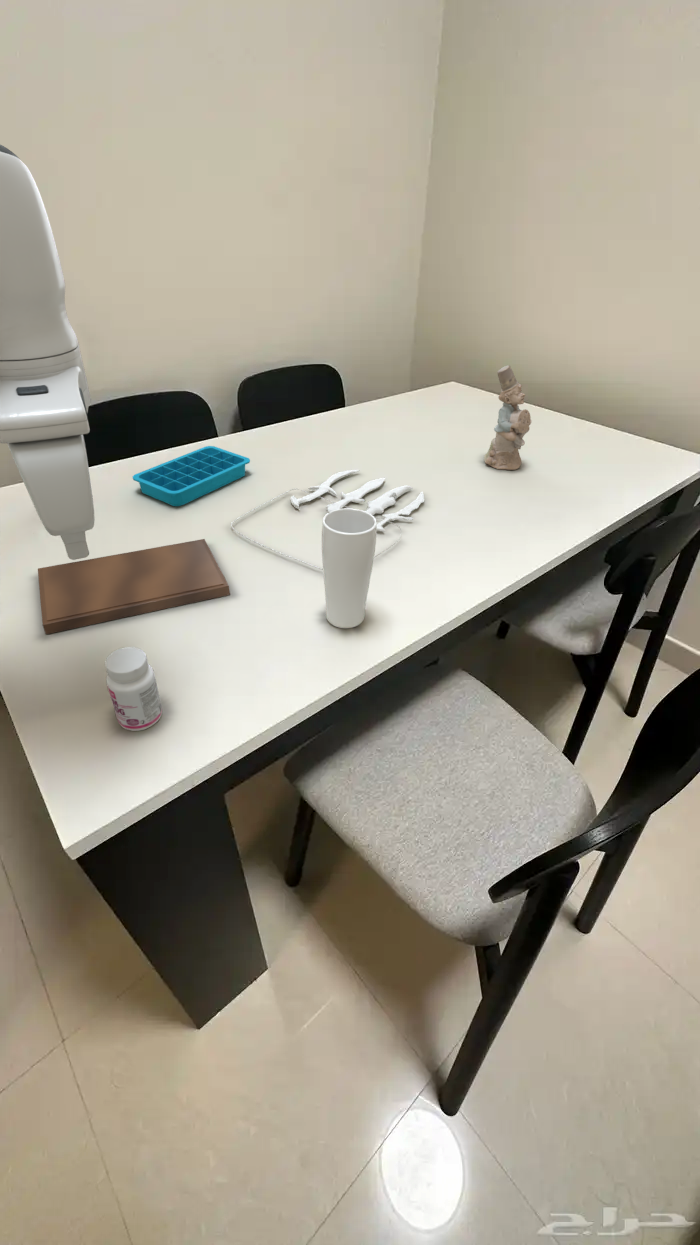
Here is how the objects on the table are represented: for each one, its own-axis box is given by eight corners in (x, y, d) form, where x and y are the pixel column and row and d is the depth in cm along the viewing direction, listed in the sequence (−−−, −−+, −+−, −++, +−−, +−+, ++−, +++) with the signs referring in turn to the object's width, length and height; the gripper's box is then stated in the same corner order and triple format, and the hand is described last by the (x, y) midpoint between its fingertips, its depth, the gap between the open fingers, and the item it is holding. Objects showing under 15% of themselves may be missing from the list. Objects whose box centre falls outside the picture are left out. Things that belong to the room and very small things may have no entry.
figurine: (473, 462, 124) (491, 364, 112) (493, 452, 130) (512, 357, 117) (509, 475, 120) (533, 374, 108) (529, 464, 125) (553, 366, 113)
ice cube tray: (253, 474, 115) (253, 459, 113) (176, 510, 102) (174, 495, 100) (211, 458, 120) (209, 444, 118) (132, 492, 106) (128, 476, 105)
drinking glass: (369, 634, 77) (378, 535, 68) (318, 632, 77) (320, 532, 68) (369, 604, 82) (377, 508, 73) (321, 602, 82) (323, 506, 73)
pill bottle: (108, 724, 63) (90, 666, 58) (136, 695, 66) (121, 638, 61) (144, 737, 62) (129, 680, 56) (171, 707, 65) (159, 651, 60)
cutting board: (46, 634, 74) (42, 624, 73) (40, 577, 84) (37, 567, 83) (229, 594, 83) (229, 585, 82) (205, 547, 92) (204, 538, 91)
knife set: (452, 502, 109) (453, 496, 108) (344, 584, 86) (345, 578, 85) (341, 465, 120) (341, 460, 119) (219, 530, 97) (218, 523, 96)
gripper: (-17, 355, 54) (27, 493, 62) (-8, 430, 40) (47, 593, 48) (56, 351, 56) (89, 483, 65) (89, 419, 42) (125, 577, 51)
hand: (71, 531), depth 57 cm, fingers open, 8 cm apart
